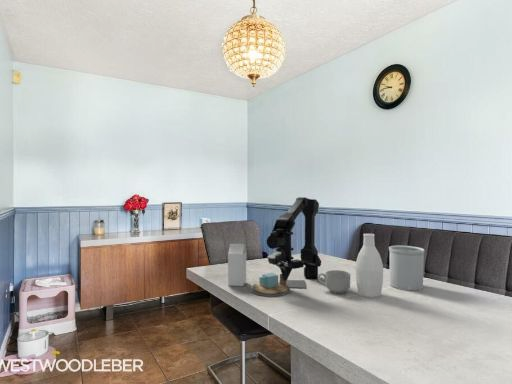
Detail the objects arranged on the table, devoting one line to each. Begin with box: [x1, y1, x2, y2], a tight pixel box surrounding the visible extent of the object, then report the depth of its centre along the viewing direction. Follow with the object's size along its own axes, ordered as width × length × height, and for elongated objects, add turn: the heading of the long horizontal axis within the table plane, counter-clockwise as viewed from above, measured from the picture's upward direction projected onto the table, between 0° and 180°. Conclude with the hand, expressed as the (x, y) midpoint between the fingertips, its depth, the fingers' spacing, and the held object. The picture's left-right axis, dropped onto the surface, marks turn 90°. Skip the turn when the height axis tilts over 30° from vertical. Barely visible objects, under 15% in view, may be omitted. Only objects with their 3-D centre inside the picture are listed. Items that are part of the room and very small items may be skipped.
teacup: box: [317, 269, 352, 294], centre depth 142 cm, size 14×11×8 cm
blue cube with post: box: [258, 272, 279, 288], centre depth 142 cm, size 8×5×5 cm, turn 122°
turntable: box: [251, 273, 288, 294], centre depth 143 cm, size 16×16×5 cm
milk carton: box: [227, 243, 247, 287], centre depth 153 cm, size 7×7×19 cm
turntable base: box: [250, 287, 291, 297], centre depth 143 cm, size 17×17×1 cm
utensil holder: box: [388, 245, 426, 291], centre depth 148 cm, size 15×15×18 cm
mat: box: [286, 279, 307, 289], centre depth 152 cm, size 12×12×1 cm
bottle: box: [355, 233, 384, 299], centre depth 136 cm, size 11×11×25 cm
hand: (285, 280), depth 144 cm, fingers closed
